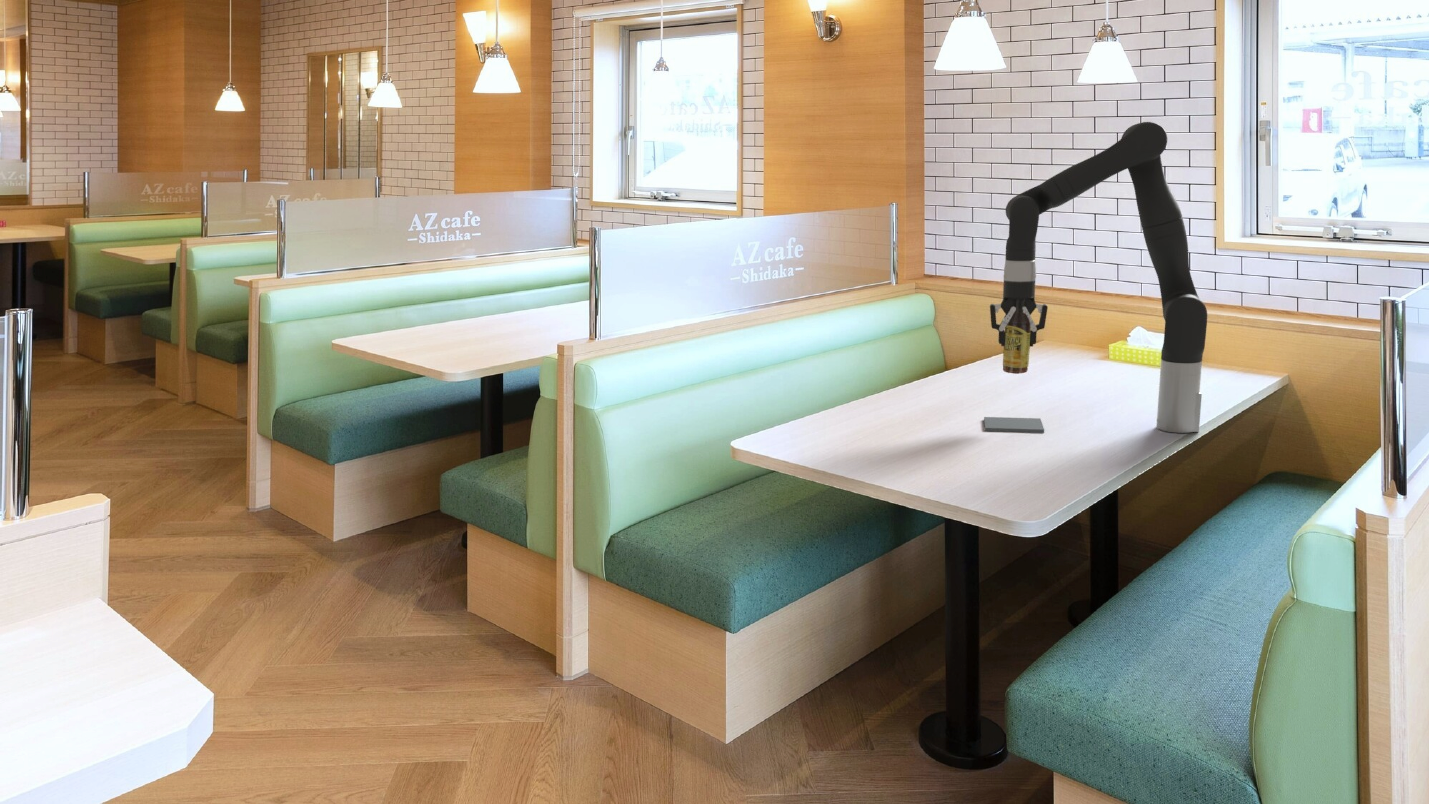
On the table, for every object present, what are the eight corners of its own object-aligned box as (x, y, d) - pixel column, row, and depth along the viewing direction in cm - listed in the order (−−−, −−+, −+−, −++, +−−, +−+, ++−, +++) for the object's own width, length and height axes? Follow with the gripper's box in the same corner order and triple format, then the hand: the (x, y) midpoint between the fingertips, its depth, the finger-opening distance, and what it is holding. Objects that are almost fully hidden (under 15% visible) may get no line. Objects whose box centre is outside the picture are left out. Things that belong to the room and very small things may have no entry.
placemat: (1040, 421, 280) (1040, 418, 280) (1044, 432, 269) (1044, 429, 269) (984, 419, 283) (984, 416, 283) (985, 431, 272) (985, 427, 272)
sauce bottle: (997, 372, 274) (999, 292, 269) (1013, 368, 277) (1015, 290, 273) (1018, 375, 269) (1021, 294, 264) (1034, 372, 272) (1037, 292, 268)
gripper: (1048, 277, 270) (1045, 343, 274) (988, 276, 273) (986, 343, 277) (1051, 280, 263) (1048, 349, 267) (989, 280, 266) (987, 348, 270)
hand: (1016, 345), depth 272 cm, fingers closed on sauce bottle, 6 cm apart
